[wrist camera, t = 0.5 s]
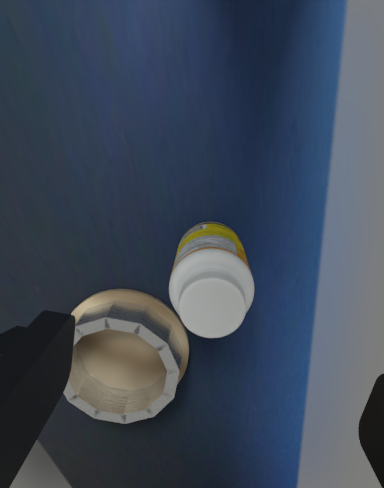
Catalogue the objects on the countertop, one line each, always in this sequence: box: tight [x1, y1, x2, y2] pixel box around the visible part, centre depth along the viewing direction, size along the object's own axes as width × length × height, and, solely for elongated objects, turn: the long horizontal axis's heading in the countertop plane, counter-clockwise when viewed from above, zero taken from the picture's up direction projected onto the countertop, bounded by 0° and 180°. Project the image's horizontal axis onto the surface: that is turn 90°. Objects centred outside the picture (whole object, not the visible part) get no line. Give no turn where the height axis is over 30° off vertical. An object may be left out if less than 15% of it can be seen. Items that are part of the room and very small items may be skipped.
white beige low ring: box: [63, 300, 182, 424], centre depth 31 cm, size 10×10×3 cm
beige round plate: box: [71, 289, 189, 390], centre depth 32 cm, size 12×12×1 cm
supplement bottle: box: [169, 222, 254, 338], centre depth 25 cm, size 6×6×10 cm
